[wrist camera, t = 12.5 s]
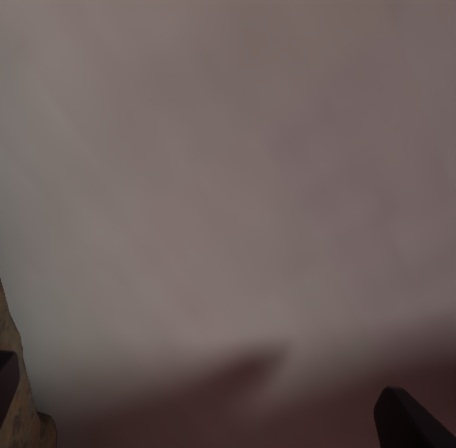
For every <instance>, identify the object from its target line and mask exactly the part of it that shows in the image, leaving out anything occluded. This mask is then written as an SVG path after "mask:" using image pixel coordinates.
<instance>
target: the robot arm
mask: <svg viewBox="0 0 456 448" xmlns="http://www.w3.org/2000/svg"><path fill="white" fill-rule="evenodd" d="M19 382H20V369H19V360H18V354H17V352H16V351H12V350H0V430H1V427H2V425H3V422H4V420H5V417H6V415H7V412H8V410H9V408H10V405H11V403H12V400H13V398H14V395H15V393H16V390H17V388H18V385H19ZM373 413H374V420H375V424H376V429H377V433H378V437H379V442H380V446H381V448H456V437H455V436H454V435H453V434H452V433H451V432H450V431H448V430H447V429H446V428H445V427H444V426H443V425H442V424H441V423H440V422H439V421H438V420H437V419H436V418H434V417H433V416H432V415H431V414H430V413H429V412H428V411H427V410H426V409H425V408H424V407H423V406H422V405H420V404H419V403H418V402H417V401H416V400H415V399H414V398H413V397H412V396H411V395H410V394H409V393H408V392H406V391H405V390H404V389H403V388H400V387H392V386H386V387H385V388H384V389H383V390H382V392H381V394H380V396H379V398H378V400H377V402H376V404H375V406H374V412H373Z"/></svg>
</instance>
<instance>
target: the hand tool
mask: <svg viewBox="0 0 456 448" xmlns="http://www.w3.org/2000/svg"><path fill="white" fill-rule="evenodd" d="M0 350H12V351H16V352H17V354H18V360H19V369H20V382H19V385H18V388H17V390H16V393H15V395H14V398H13V400H12V403H11V405H10V408H9V410H8V412H7V415H6V417H5V420H4V422H3V425H2V427H1V430H0V448H57V441H56V436H57V431H56V426H55V423H54V421H53V419H52V418H51V416H48V415H45V414H42V413H39V412H37V411H36V408H35V405H34V401H33V398H32V393H31V387H30V383H29V379H28V376H27V373H26V368H25V364H24V359H23V348H22V344H21V336H20V334H19V332H18V330H17V328H16V326H15V324H14V322H13V319H12V317H11V315H10V312H9V309H8V305H7V301H6V297H5V294H4V290H3V286H2V283H1V279H0Z"/></svg>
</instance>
